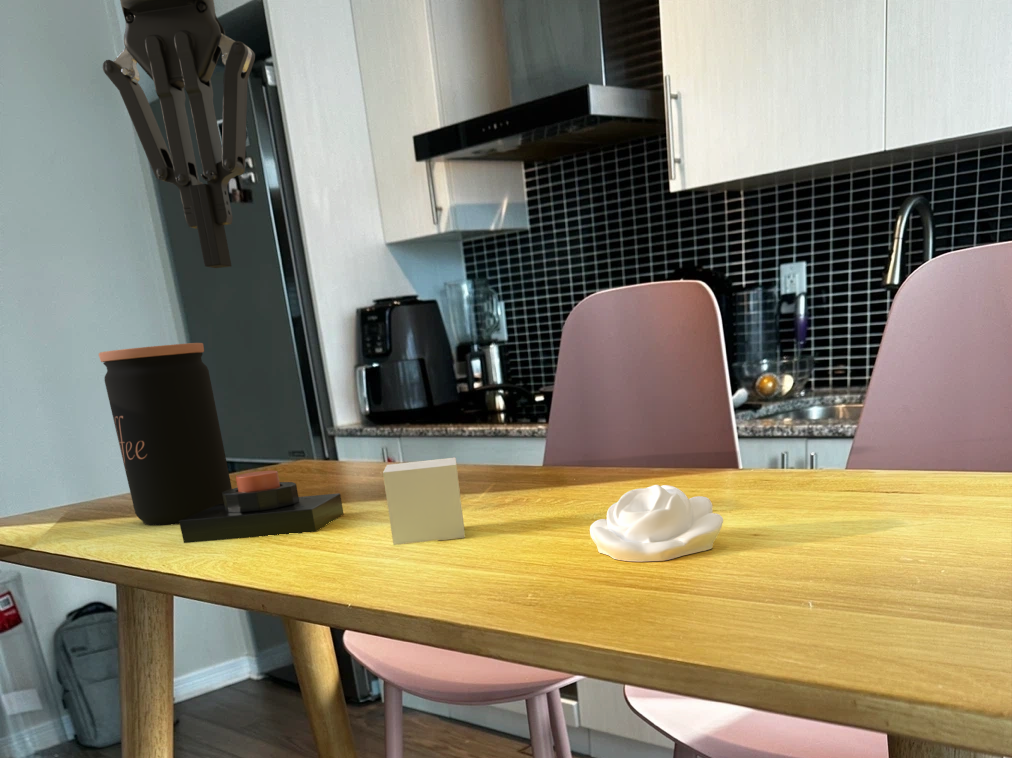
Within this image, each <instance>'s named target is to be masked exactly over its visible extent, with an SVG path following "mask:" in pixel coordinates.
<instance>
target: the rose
mask: <svg viewBox="0 0 1012 758" xmlns="http://www.w3.org/2000/svg"><path fill="white" fill-rule="evenodd" d="M713 508H714V507H713V503H712V501H711V499H710V498H709V497H707V496H701V495H700V496H699V495H698V496H697V495H696V496H692V497H690V498H688V496H687V495H686V493H685V492H684V491H682V490H681V489H680V488H679V487H676V486H673V485H669V484H662V485H659V484H652V485H650V486H648V487H643V488H635V489H630V490H628V491H627V492H625V493H623V494H622V495H621V496H620V498H619V499H618V501H616V502H614V503H612V504H611V505H610V506H609V507H608V509H607V512H606V518H599V519H596V520H595V521H594V522H592V523H591V524H590V527H589V535H590V538H591V540H592V541H593V543H594V544H595V545H596V548H597V551H598V553H599V554H603V555H605V556H606V555H607V556H609V557H610V558H612V559H614V560H619V561H625V562H636V563H637V562H642V563H644V562H662V561H668V560H669V561H670V560H673V559H677V558H679V557H683V556H687V555H692V554H696V553H699V552H700V553H701V552H705V551H709V550H711V549H713V547H714V543H715V541H716V540H717V538H718V536H719V534H720V532H721V530H722V529H723V528H722V527H723V524H724V517H723V516H722V515H721V514H719V513H716V512H714V511H713V510H714V509H713Z"/></svg>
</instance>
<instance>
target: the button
mask: <svg viewBox="0 0 1012 758" xmlns="http://www.w3.org/2000/svg"><path fill="white" fill-rule="evenodd" d="M235 481H236V482H235V483H236V488H238V492H248V491H258V490H265V489H272V488H276V487H280V483H279V482H280V477H279V472H278V471H277V470H260V471H253V472H246V473H241V474H237V475H236V476H235Z"/></svg>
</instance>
